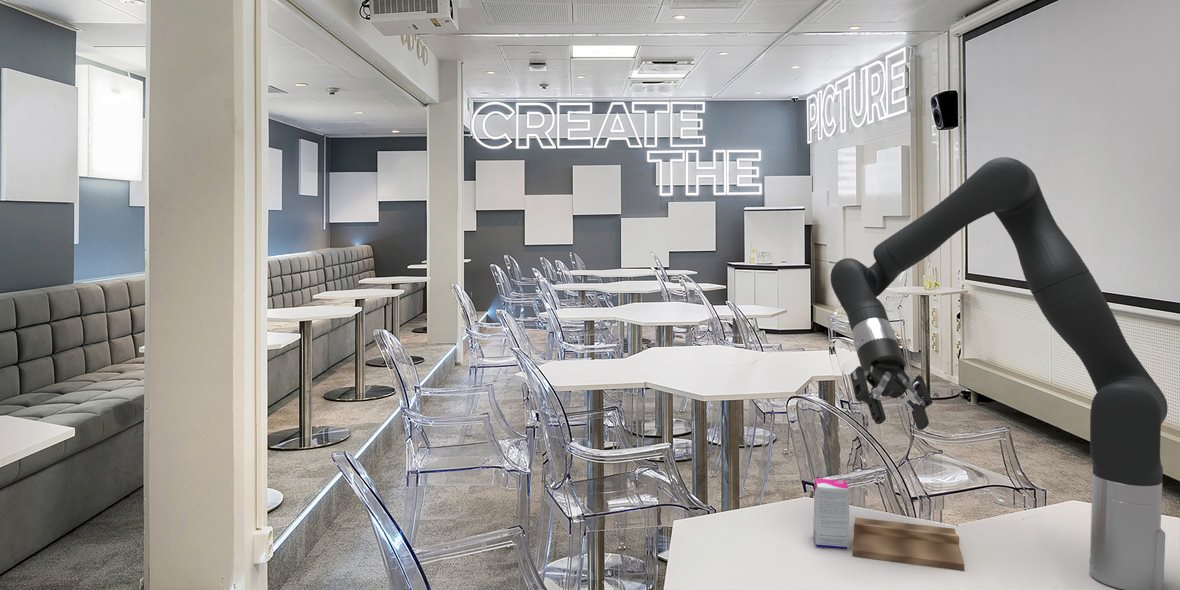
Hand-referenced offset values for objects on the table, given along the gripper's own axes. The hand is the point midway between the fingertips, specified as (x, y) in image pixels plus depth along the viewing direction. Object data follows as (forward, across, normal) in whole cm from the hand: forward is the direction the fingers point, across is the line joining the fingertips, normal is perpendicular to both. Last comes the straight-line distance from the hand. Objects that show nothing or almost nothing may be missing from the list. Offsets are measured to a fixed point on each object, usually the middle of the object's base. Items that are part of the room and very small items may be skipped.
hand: (902, 424), depth 128 cm
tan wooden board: (+13, +10, +20) cm, 26 cm away
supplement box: (+12, -3, +25) cm, 28 cm away
